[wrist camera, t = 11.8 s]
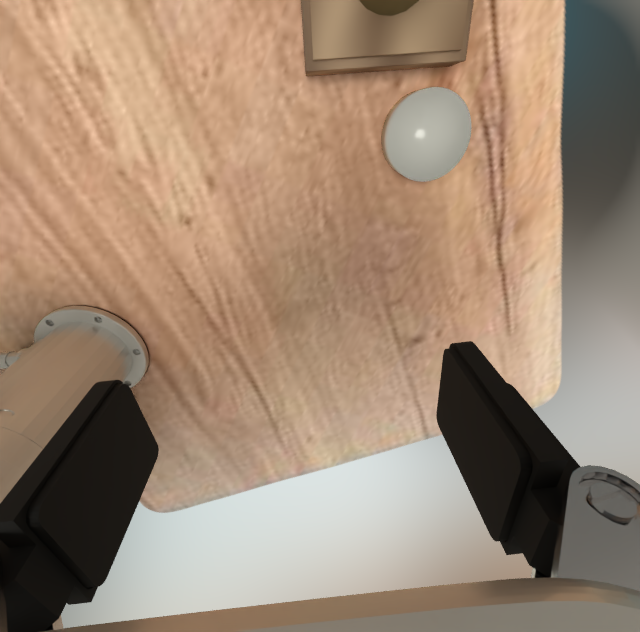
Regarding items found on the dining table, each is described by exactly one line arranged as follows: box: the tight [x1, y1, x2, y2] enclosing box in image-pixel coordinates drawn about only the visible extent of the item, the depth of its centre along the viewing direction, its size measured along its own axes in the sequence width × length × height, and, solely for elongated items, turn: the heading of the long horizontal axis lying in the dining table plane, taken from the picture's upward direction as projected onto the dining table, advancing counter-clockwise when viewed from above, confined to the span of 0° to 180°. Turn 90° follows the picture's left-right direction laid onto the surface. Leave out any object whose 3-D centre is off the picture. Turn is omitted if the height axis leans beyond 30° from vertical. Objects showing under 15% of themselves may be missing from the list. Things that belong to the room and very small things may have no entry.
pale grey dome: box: [381, 87, 471, 182], centre depth 29 cm, size 7×7×3 cm
